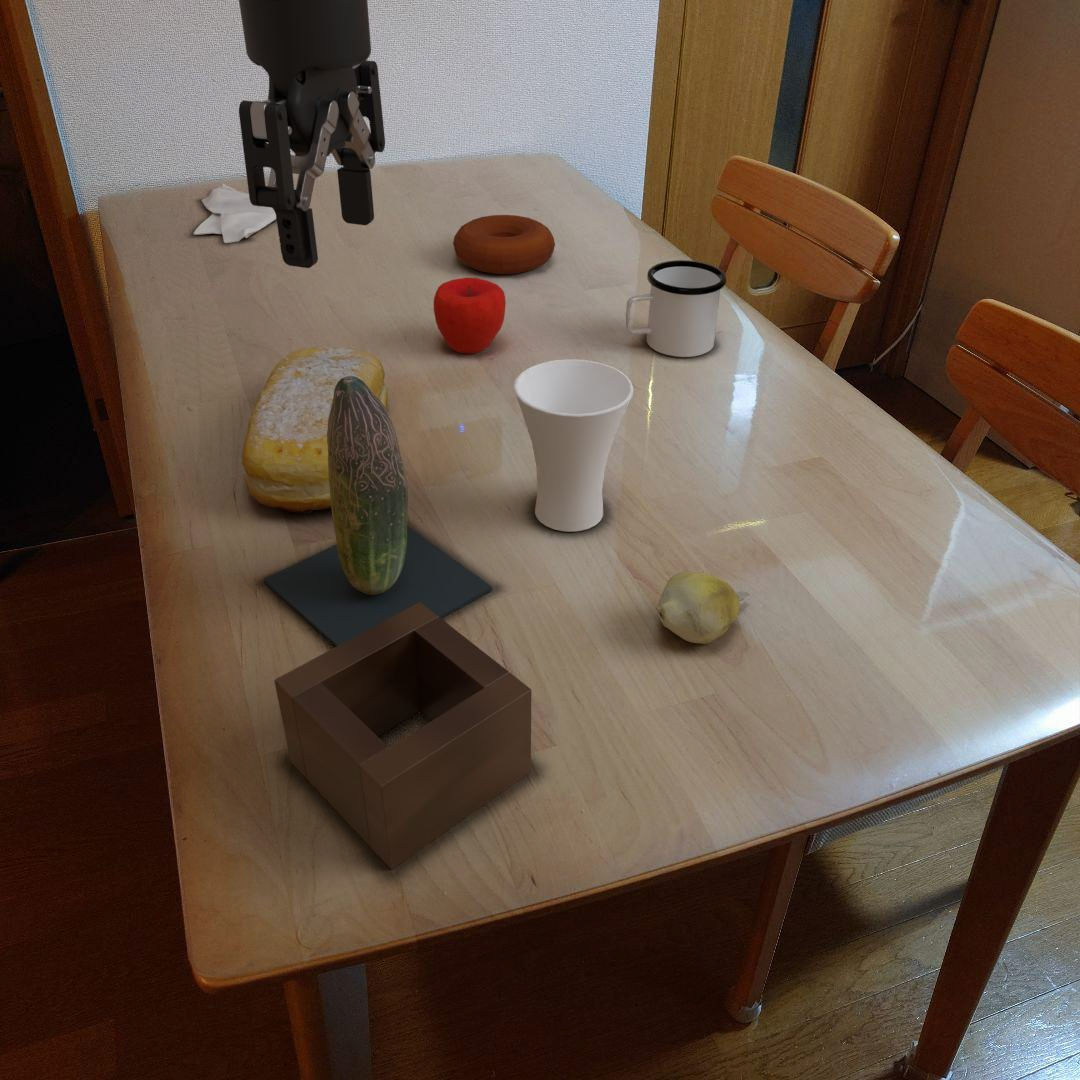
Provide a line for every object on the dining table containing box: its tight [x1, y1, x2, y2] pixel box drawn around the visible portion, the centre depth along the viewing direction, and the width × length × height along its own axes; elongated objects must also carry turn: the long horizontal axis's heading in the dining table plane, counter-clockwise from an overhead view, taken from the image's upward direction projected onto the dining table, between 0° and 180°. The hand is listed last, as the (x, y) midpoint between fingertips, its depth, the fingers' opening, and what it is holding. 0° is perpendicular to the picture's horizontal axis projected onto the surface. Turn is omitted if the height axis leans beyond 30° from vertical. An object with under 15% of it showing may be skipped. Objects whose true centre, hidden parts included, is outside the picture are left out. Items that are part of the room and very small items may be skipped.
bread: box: [241, 345, 388, 514], centre depth 102 cm, size 13×26×8 cm, turn 4°
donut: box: [452, 214, 556, 275], centre depth 147 cm, size 15×15×5 cm
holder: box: [273, 602, 532, 870], centre depth 68 cm, size 12×12×8 cm
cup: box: [513, 358, 634, 533], centre depth 92 cm, size 10×10×14 cm
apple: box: [433, 277, 507, 355], centre depth 122 cm, size 9×9×8 cm
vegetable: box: [327, 376, 409, 595], centre depth 81 cm, size 6×6×20 cm
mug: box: [625, 259, 727, 358], centre depth 123 cm, size 12×10×9 cm
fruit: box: [655, 571, 751, 645], centre depth 82 cm, size 6×6×10 cm
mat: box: [263, 525, 493, 648], centre depth 87 cm, size 14×14×1 cm
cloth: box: [193, 183, 277, 244], centre depth 162 cm, size 26×14×2 cm, turn 10°
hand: (331, 243), depth 69 cm, fingers open, 8 cm apart
